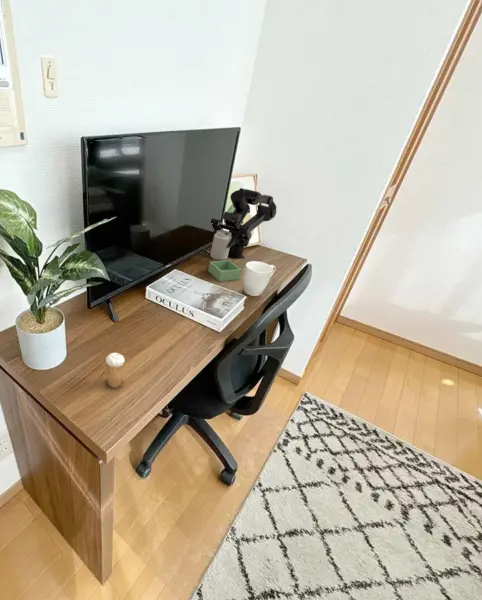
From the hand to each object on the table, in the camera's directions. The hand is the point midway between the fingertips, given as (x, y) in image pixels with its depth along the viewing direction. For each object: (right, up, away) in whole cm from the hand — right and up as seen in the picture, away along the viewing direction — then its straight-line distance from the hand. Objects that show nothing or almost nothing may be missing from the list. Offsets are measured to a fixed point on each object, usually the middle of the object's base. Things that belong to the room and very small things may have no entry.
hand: (219, 244), depth 139 cm
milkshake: (-43, -46, -57) cm, 85 cm away
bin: (+1, -13, -3) cm, 14 cm away
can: (+1, -5, +4) cm, 7 cm away
